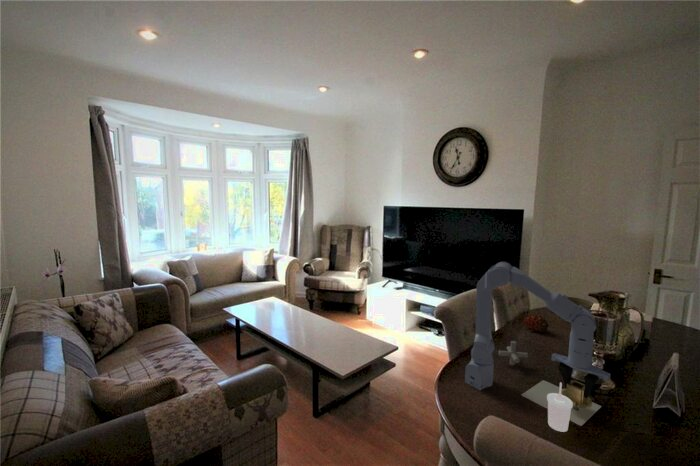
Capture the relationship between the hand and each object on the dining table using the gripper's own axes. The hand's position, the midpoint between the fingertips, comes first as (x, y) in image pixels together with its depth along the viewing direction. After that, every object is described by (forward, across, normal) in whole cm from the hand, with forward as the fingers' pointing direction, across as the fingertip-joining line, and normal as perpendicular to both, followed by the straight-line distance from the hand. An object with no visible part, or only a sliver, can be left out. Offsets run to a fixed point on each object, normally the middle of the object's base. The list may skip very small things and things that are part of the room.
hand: (577, 392), depth 95 cm
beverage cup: (+7, 0, +12) cm, 14 cm away
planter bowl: (+7, +31, -80) cm, 87 cm away
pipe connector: (+7, +25, -10) cm, 28 cm away
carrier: (+6, +4, 0) cm, 8 cm away
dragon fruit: (+7, +37, -51) cm, 63 cm away
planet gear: (+3, 0, 0) cm, 3 cm away
